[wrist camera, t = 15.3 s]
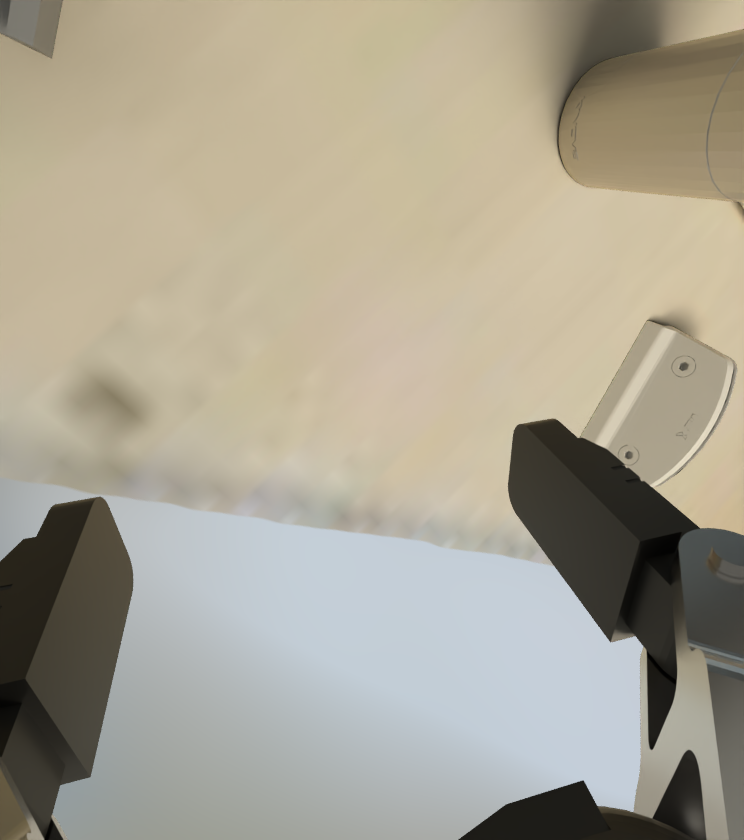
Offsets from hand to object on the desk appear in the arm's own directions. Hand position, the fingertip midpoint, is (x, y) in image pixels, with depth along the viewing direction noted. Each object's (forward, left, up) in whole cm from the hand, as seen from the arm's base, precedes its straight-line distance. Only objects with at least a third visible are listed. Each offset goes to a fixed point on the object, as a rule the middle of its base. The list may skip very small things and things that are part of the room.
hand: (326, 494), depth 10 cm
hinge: (-39, +22, -33) cm, 55 cm away
